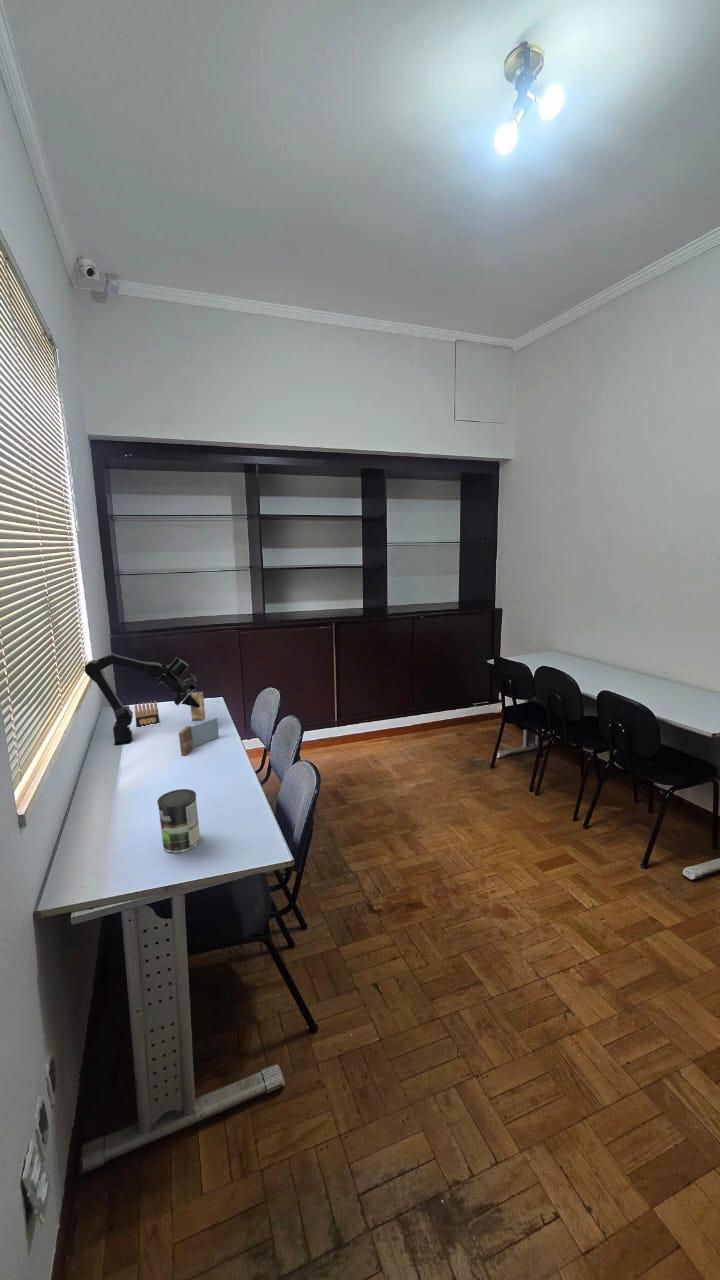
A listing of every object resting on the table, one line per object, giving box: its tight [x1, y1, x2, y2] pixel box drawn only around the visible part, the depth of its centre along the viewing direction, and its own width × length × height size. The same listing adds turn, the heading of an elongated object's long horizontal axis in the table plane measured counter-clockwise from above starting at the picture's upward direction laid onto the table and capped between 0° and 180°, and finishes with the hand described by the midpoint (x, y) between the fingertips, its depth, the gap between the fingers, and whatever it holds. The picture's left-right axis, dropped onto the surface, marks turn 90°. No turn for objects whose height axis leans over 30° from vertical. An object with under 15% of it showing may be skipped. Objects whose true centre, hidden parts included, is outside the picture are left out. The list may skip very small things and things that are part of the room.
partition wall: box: [178, 725, 194, 757], centre depth 213 cm, size 2×8×10 cm, turn 177°
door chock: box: [190, 691, 206, 722], centre depth 235 cm, size 5×4×12 cm
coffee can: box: [157, 788, 201, 854], centre depth 146 cm, size 10×10×14 cm
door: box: [190, 717, 220, 748], centre depth 223 cm, size 1×13×9 cm, turn 142°
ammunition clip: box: [134, 700, 161, 728], centre depth 249 cm, size 11×2×12 cm, turn 113°
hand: (200, 705), depth 235 cm, fingers closed on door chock, 4 cm apart
